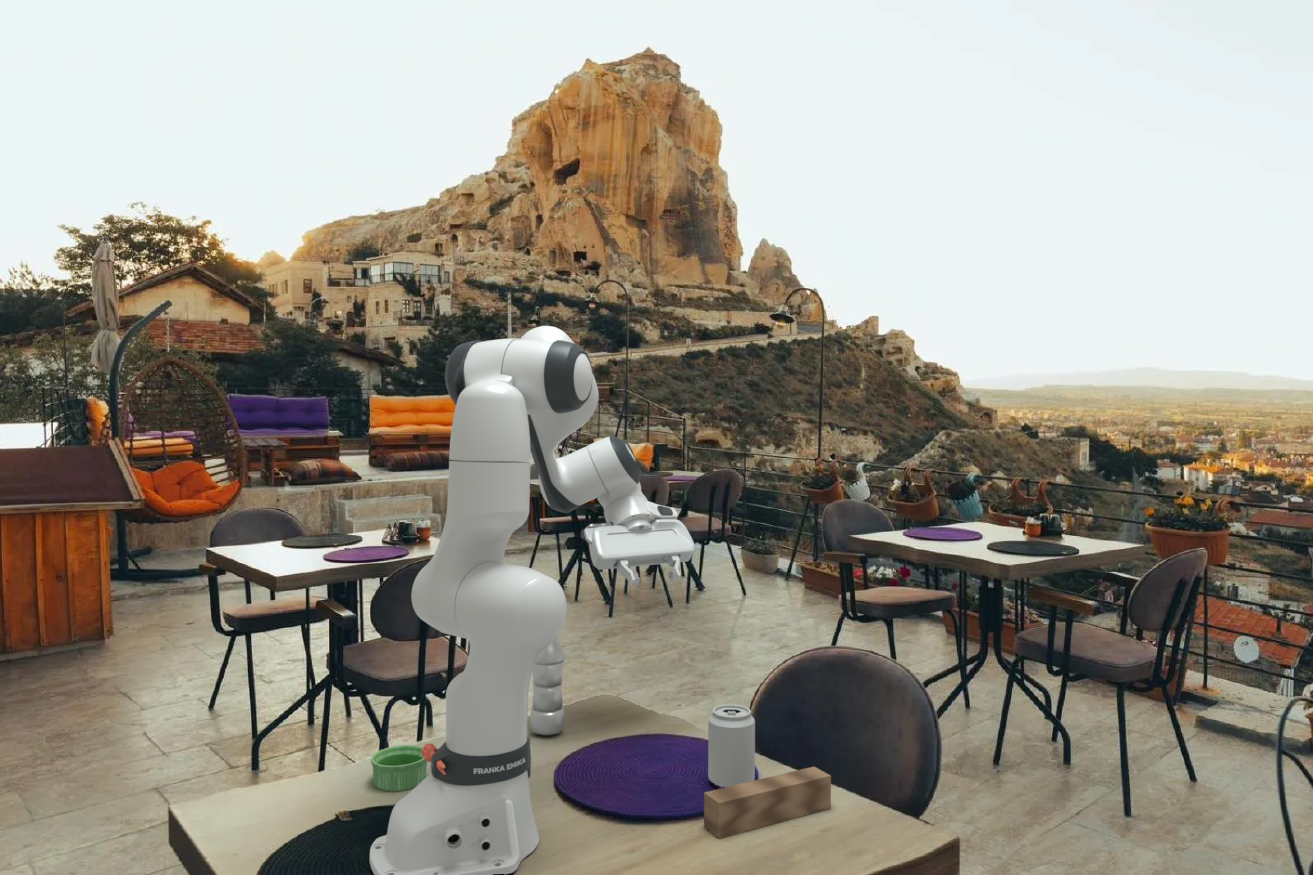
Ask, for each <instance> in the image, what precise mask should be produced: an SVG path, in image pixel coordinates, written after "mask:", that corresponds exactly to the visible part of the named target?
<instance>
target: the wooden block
mask: <svg viewBox="0 0 1313 875" xmlns="http://www.w3.org/2000/svg"><path fill="white" fill-rule="evenodd" d="M831 783H832V775H831V774H829V773H827V772H825V771H823V770H821V769H820V768H818V767H816V766H811V767H806V768H801V769H799V770H793V771H788V772H785V773H781V774H776V775H772V776H768V777H765V778H764V777H763V778H760V779H754V781H751V782H746V783H742V784H738V785H734V786H729V787H725V788H721V789H720V788H717V789H713V790H709V791H705V792H704V793H703V828H705V829H706V830H708V831H709V832H710V833H712V834H713V836H715V837H717V838H718V839H719V840H721V839H723V838H726V837H731V836H734V835H738V834H742V833H745V832H748V831H752V830H757V829H760V828H763V827H767V826H771V825H774V824H779V823H783V822H786V821H789V820H794V819H797V818H801V817H805V816H807V815H812V814H816V813H820V812H823V811H827V810H831V808H832V807H831V806H832V795H831V794H832V784H831Z"/></svg>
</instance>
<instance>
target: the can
mask: <svg viewBox="0 0 1313 875" xmlns="http://www.w3.org/2000/svg"><path fill="white" fill-rule="evenodd" d="M707 728H708V729H707V730H708V732H707V733H708V739H707V740H708V742H707V743H708V745H707V746H708V747H707V748H708V749H707V753H708V754H707V756H708V757H707V763H708V764H707V766H708V767H707V772H708V773H707V774H708V775H707V777H708V780H709V781H710V782H711V783H712V784H713V783H714V784H715V785H718V786H720V787H729V786H734V785H738V784H742V783H746V782H751V781H755V780H756V778H755V776H756V773H755V772H756V770H755V769H756V767H755V766H756V762H755V761H756V720H755V718H754V716H752V711H751V709H750V708H749V707H747V706H745V705H740V704H733V703H732V704H731V703H730V704H721V705H716V706H715V707H714V708H712V714H711V715H710V716H709V717H708V727H707ZM714 784H713V785H714ZM715 785H714V786H715Z"/></svg>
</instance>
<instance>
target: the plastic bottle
mask: <svg viewBox="0 0 1313 875" xmlns="http://www.w3.org/2000/svg"><path fill="white" fill-rule="evenodd" d="M558 637H559V635H558V636H557V637H556V638H555V639H554V641H553V642H551V643H550V644H549V645H548V646H546V647H545V648H544V649H543V650H542V652H541V653H540V655H539V656H538V658H537V660H536V663H535V665H534V668H533V671H532V685H533V686H532V688H533V689H532V691H533V692H532V704H531V709H530V715H529V726H530V729H531V730H532V732H533V733H534V734H535V735H540V736H554V735H557V734H559V733H561V731H562V730H563V729H564V726H565V722H566V720H565V711H564V707H563V690H562V689H563V688H562V683H563V673H564V666H565V660H566V659H565V657H566V654H565V651H564V648H563V647H562V645H561V644H560V643H559V641H558V640H557V639H558Z"/></svg>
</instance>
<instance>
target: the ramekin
mask: <svg viewBox="0 0 1313 875" xmlns="http://www.w3.org/2000/svg"><path fill="white" fill-rule="evenodd" d="M422 748H424V746H423V747H421V746H419V745H410V744H409V745H404V744H402V745H395V746H394V745H393V746H391V747H386V748H384V749H383V748H382V749H380V750H378V751H376V752H375V753H373V754H372V755H371V758H370V763H371V766H372V776H373V777H372V778H373V784H374V786H375V787H376V788H377V789H378V790H381V791H385V792H402V791H407V790H413V789H414V788H415V787H416V786H417V785H418V784H419V783H421V782H422V781H423V780H424V779H425V778H426V777H427V767H428V766H427V765H428V761H426V760H425V758H424V757H423V756H422V753H421V751H422Z"/></svg>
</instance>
